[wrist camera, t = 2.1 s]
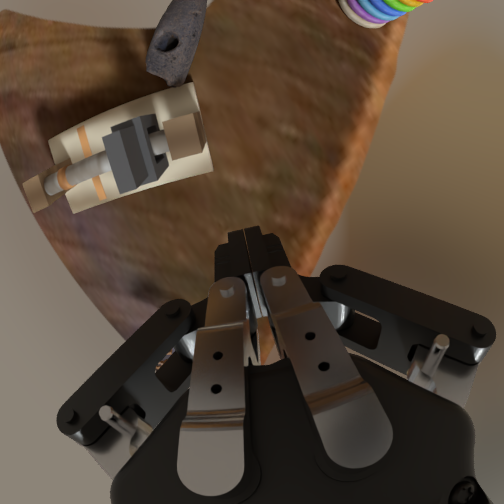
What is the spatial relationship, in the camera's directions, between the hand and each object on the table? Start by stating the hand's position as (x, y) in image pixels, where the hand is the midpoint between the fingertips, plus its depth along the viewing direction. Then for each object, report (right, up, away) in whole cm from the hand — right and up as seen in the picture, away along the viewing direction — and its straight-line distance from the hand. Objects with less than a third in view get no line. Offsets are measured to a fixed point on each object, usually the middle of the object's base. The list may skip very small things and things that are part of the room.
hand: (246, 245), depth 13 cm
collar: (-11, +12, +14) cm, 22 cm away
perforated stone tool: (-8, +27, +12) cm, 30 cm away
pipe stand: (-17, +13, +18) cm, 28 cm away
